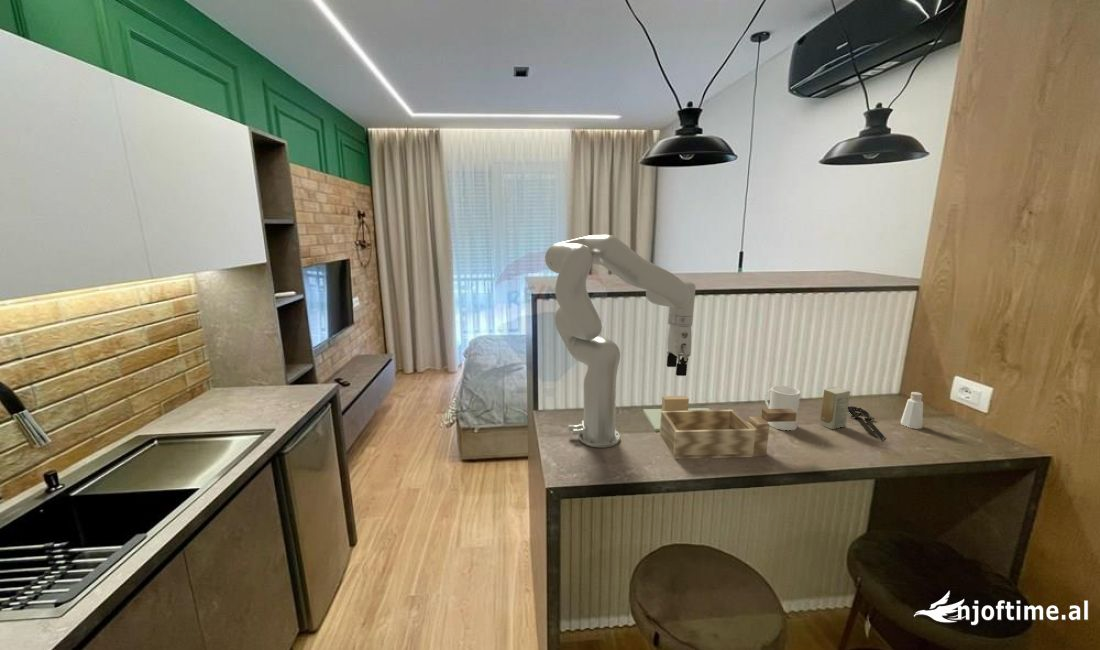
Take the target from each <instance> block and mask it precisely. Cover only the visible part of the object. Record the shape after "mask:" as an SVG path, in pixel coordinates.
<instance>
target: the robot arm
mask: <svg viewBox="0 0 1100 650" xmlns="http://www.w3.org/2000/svg"><path fill="white" fill-rule="evenodd" d="M544 261H545V265H546V266H547V267H548V269H549V270H550V271H552V272H553V273H555V274H557V278H556V283H555V287H554V289H555V290H554V292H555V298H556V301H557V304H558V305H559V307H558V308H557V310H556V312H555V315H554V322H555V323H554V324H555V328H556V330H557V332H558V334H559V336H560V337H561V339H562V341H563V343H564V345H565V347H566V348H567V350H568V353H569V354H570V355H571V357H573V358H574V359H575V360H576V361H578V362H581V364H582V363H583V365H586V366H587V370H586V373H585V376H584V380H583V420H581V423H578V424H567V425H568V428H567V429H568V432H572V434H573V435H578V440H579V441H580V442H581V443H582V444H584V445H586V446H589V447H592V448H610V447H613V446H616V445H617V444H618V443H619V442H620V440H621V434H620V433H619V431H618V430H616V404H617V403H616V401H617V400H616V396H617V376H618V375H617V374H618V368H619V364H620V359H621V351H620V349H619V346H618V345H617V343H615V342H614V341H613V340H612V339H609V338H607V337H605V336H602V335H600V334H601V332H602V320H601V318H600V316H599V314H598V312H597V310H596V307H595V306H594V304H593V302H592V299H591V297H590V296H589V293H588V290H587V278H588V275H589V273H590V271H591V268H592V265H600V266H602V267H603V268H605V269H606V270H608V271H610V272H611V273H612V274H613V275H615V276H616V277H618V278H619V279H621V281H623V282H624V283H626V284H628V285H631V286H632V287H636V288H638V289H643V290H645V296H646V299H647V300H648V301H649V302H650V303H652V304H654V305H657V306H663V307H667V308H668V319H667V325H669V328H668V335H667V350H668V351H667V358H666V367H667V368H675V375H676V376H677V377H686V375H687V372H688V363H689V357H691V355H692V337H693V336H692V334H693V333H692V326H693V320H694V319H693V318H694V310H695V309H694V308H695V299H696V298H695V297H696V285H695V283H694V282H692V281H691V282H690V281H683V280H682V279H680V278H679V277H678V276H677V275H675V274H674V273H672V272H670V271H669V270H666V269H664V268H662V267H661V266H659V265H656V264H654V263H653V262H651V261H648V260H646V259H645V258H643V257H642V256H641V255H639V254H638V253H637V252H635V251H634V250H633V249H632V248H630V247H629V246H628V245H627V244H626V243H624V242H623V241H622V240H621V239H619V238H618V237H617V236H614V235H611V234H592V235H586V236H583V237H578V238H573V239H570V240H565V241H561V242H557V243H553V244H552V245H551V246H549V248H548V249H547V250H546V252H545V257H544Z"/></svg>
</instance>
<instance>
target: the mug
mask: <svg viewBox="0 0 1100 650" xmlns="http://www.w3.org/2000/svg"><path fill="white" fill-rule="evenodd" d="M769 394H770V397H769V402H768V395H769ZM800 398H801V391H800V389H798V388H795V387H793V386H787V385H786V386H785V385H774V386H771V388H770V389H768V390H767V391H766V393H765V395H764V403H765V407H766V408H767V409H789V408H790V409H792V410H793V411H795V412H796V413H797V414H796V421H786V422H768V423H769V424H770V426H769V427H771V428H773V427H774V428H773V429H777V430H779V429H780V431H785V430H788V432H789V430H791V431H795V430H797V427H798V425H797V423H798V413H799V405H800Z"/></svg>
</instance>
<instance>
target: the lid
mask: <svg viewBox="0 0 1100 650" xmlns="http://www.w3.org/2000/svg"><path fill="white" fill-rule="evenodd" d="M661 401H662V402H661V408H650V409H649V408H643V411H642V412H643V414H644V415H645V417H646V419H647V420H648V422H649V424H650V425H651V427H652V428H653V430H654V432H660V422H661V411H690V410H711V409H710V408H709V407H698V408H695V407H694V408H689V403H690V402H689V398H688V397H687V395H662V396H661Z"/></svg>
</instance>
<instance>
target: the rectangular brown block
mask: <svg viewBox="0 0 1100 650" xmlns="http://www.w3.org/2000/svg"><path fill="white" fill-rule="evenodd" d="M796 414H797V413H796V412H795V411H793V410H792V409H790V408H789V409H768V408H761V418H763V419H764V420H765V421H766V422H786V421H796Z"/></svg>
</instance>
